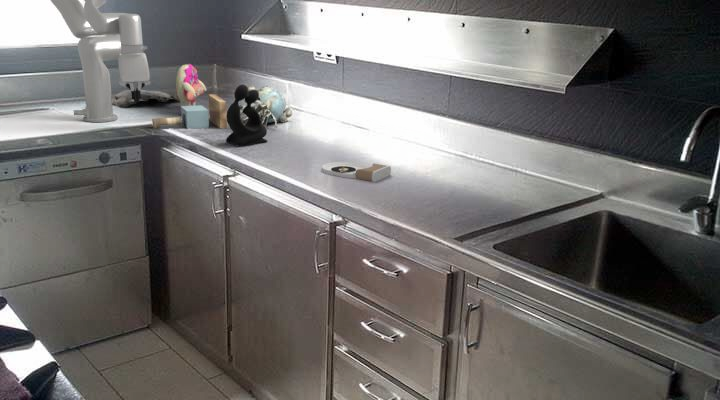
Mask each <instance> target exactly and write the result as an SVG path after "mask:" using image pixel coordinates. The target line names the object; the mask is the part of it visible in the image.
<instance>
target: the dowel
mask: <svg viewBox="0 0 720 400" xmlns="http://www.w3.org/2000/svg"><path fill="white" fill-rule="evenodd" d="M181 122H182V118H181V117H180V116H178V117H161V118H152V122H151V123H152V124H151V125H152V128H153V129H159V125H176V124H182V123H181Z"/></svg>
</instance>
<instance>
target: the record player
mask: <svg viewBox="0 0 720 400" xmlns="http://www.w3.org/2000/svg"><path fill="white" fill-rule="evenodd" d="M321 171H322V172H323V173H325V174H328V175H331V176H337V177H341V178H347V179H360V180H364V181H369V182H374V183H375V182H377V181H379V180H382V179H385V178H386V177H390V176H391V173H392V167H391V165H385V164H379V163H372V166H370V165H366V164H362V163H361V164H360V163H354V162H347V161H333V162H328V163H324V164H323V165H322V166H321Z"/></svg>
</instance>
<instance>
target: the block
mask: <svg viewBox="0 0 720 400" xmlns="http://www.w3.org/2000/svg"><path fill="white" fill-rule="evenodd" d="M180 109H181V115H180V116H181V117H180V118H181V122H182V123H183V124H185V128H186V129H188V128H191V129H205V128H206V129H207V128H209V127H210V117H209V109H207V108H206V107H205V106H204V105H201V104H200V105H199V104H198V105H195V106H183V105H181V106H180Z"/></svg>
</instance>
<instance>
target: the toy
mask: <svg viewBox="0 0 720 400" xmlns="http://www.w3.org/2000/svg"><path fill="white" fill-rule="evenodd" d="M198 78H199V76H198V70H197V69H196V68H195V67H194V65H192V64H191V63H188V64H182V65H181V66H180V67H179V68H178V70H177V74H176V81H175V82H176V83H175V84H176V86H175V87H176V95H177V96H178V97H179V100H180V101H179V102H181V103H182V104H183V105H182V106H196V101H197V99H198V97H199V96H200V95H203V94H204V93H205V92H207V87H206V85H205V83H203V81H201V80H200V79H198ZM178 114H179V116H181V108H180V109H178Z"/></svg>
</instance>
